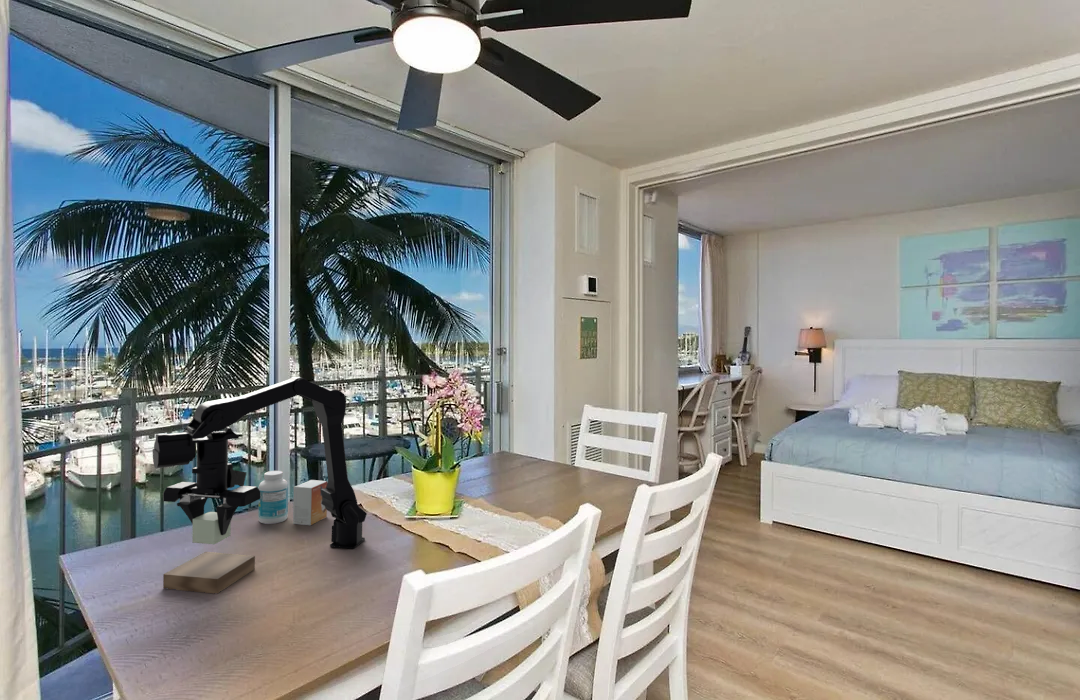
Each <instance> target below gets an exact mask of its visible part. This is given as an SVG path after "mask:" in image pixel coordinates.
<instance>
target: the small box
mask: <svg viewBox="0 0 1080 700" xmlns="http://www.w3.org/2000/svg"><path fill="white" fill-rule="evenodd" d="M327 483H328V480H327V481H326V480H316V479H309V480H308V481H306V482H303V483H300V484H298V485H295V486H293V503H292V504H293V507H292V508H293V509H292V510H293V512H292V513H293V514H292V515H293V517H292V518H293V519H292V524H293V525H301V526H312V525H314V524H316V523H318V522H320V521H321V520H324V519H326V518H327V517H328V516H327V514H328V513H327V512H328V510H326V508H325V506H324V505H322V504H321V503H322V495H321V491H320V489H323V488H326V486H327Z"/></svg>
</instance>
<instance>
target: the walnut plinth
mask: <svg viewBox="0 0 1080 700" xmlns="http://www.w3.org/2000/svg"><path fill="white" fill-rule="evenodd" d="M255 564H256V555H250V554H249V555H248V554H237V553H226V552H215V551H214V552H213V551H204V552H202V553H200V554H198V555H196V556H195V557H193V558H192V559H190V560H188V561H185V562H184V563H182V564H180V565H179V566H176V567H174V568H172V569H170V570H169V571H167V572H165V573H163V575H162V576H163V577H162V581H163V582H162V583H163V585H162V587H163V588H168V589H167V590H172V589H176V590H175V591H183V592H184V591H185V592H193V591H194V593H204V592H205V593H206V594H214V593H217V594H219V593H220V591H221V592H222V591H224V590H225V589H227V588H228V587H229V586H232V585H233V584H234V583H236V582H237V581H239V580H241V579H242V578H243V577H245V576H246V575H248V574H249V573H251V572H253V571H255V569H256V565H255Z"/></svg>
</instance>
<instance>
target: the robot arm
mask: <svg viewBox="0 0 1080 700" xmlns="http://www.w3.org/2000/svg"><path fill="white" fill-rule="evenodd" d="M297 396H299V397H301V398H303V399H305V400H307V401H309V402H311V403H312V406H313V409H314V413H315V416H316V417H317V420H318V421H319V423H320V425H321V430H322V438H323V445H324V454H325V455H324V456H325V463H326V466H325V467H326V473H327V486H326V488H323V489H320V491H321V495H322V503H321V504H322V505H324V506H325V508H326V510H327V512H329V513H330V514H331V517H332V518H335V519H333V524H332V525H331V538H330V539H331V543H330V544H329V547H330V548H340V549H341V548H342V549H356V548H357V547H358V546H359V545H360V544H362V543H363V542H364V541H365V540H366V538H365V537H363V523H364V522H365V520H366V517H367V515H368V514H367V512H366V511H365V510H364V509H362V508H361V507H360V506H359V505H358V499H357V497H356V493H355V490H354V489H353V486H352V485H351V483H350V481H349V477H348V468H347V460H346V459H347V458H346V451H345V441H344V431H343V422H344V419H345V415H346V411H347V398H346V394H345V393H344V392H342V391H341V390H339V389H335V388H329V387H322V386H320V385H317V384H316V383H313V382H312V381H308V379H306V378H305V377H299V376H292V377H290V378H289V379H286V380H283V381H280V382H277V383H275V384H271V385H269V386H265V387H263V388H260V389H258V390H255V391H252V392H249V393H246V394H243V395H239V396H236V397H235V396H234V397H226V398H220V399H214V400H207V401H205V402H203V403H200V404H198V405H197V408H196V409H195V411H194V417H193V419H192V420H191V421H190V422H189V423H188V424H187V426H186V427H185V428H184V429H183V431H182V432H175V433H163V432H162V433H156V434H155V441H154V444H153V448H152V461H153V466H154V468H155V469H163V468H170V467H178V466H186V465H189V464H190V462H193V460H194V459H195V458H196V466H195V467H193V468H191V473H192V474H196V482H190V481H181V482H178V483H176V484H172V485H169V486H166V488H165V490H164V491H163V492H162V501H163V502H169V503H176V502H177V503H176V506H177V507H179V508H181V510H182V511H183V513H185V515H186V517H187V518H188V520H189V521H190V523H191V524H192V525H193V519H194V518H196V517H199V516H201V515H203V514H205V505H206V503H207V501H208V499H217V500H223V503H222V504H220V505H218V506H215V507H216V508H215V509H216V512H217V516H218V523H219V530H220V533H221V535H224V534H226V532H227V529H228V527H229V524H230V522H231V521H232V519H233V517H234V514H235V512H236V511H237V510H238V507H239V508H240V507H246V506H248V505H251V504H252V503H255V502H257V501H259V499H260V490H259V486H253V485H252V486H250V485H245V481H246V476H247V473H248V472H246V471H241V470H235V469H233V468H234V467H233V463H229V440H237V439H239V438H240V436H239V435H238V434H237V433H236V432H235V431H234V430H233V429H232V428H231V427H230V426H231V425H234V424H236V423H237V422H239V421H240V420H241V419H242V418H244V417H245V416H247V415H248V414H251V413H253V412H257V411H259V410H262V409H264V408H267V407H269V406H270V407H271V406H272V405H275V404H279V403H280V402H284V401H287V400H289V399H291V398H294V397H297ZM235 486H238V487H237V488H235ZM231 488H233V489H231ZM178 500H179V502H178Z"/></svg>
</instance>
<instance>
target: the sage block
mask: <svg viewBox="0 0 1080 700" xmlns="http://www.w3.org/2000/svg"><path fill="white" fill-rule="evenodd" d="M231 524H232V523H231V522H230V524H229V527H228V529H227V532H226V534H224V535H221V533H220V530H219V523H218V516H217V511H208V512H206V513H205V512H204V514H203V515H201V516H199V517H196V518H194V519H193V524H192V533H191V534H192V536H191V537H192V543H193V544H205V545H216V544H218V543H219V542H222V541H224V540H225V539H227V538H230V537H231V533H232V532H231V529H232V528H231V526H232V525H231Z"/></svg>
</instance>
